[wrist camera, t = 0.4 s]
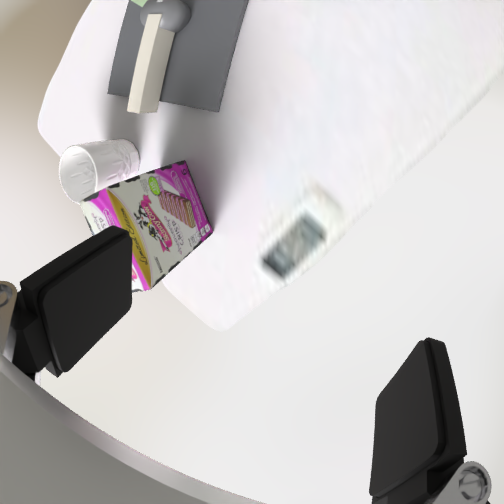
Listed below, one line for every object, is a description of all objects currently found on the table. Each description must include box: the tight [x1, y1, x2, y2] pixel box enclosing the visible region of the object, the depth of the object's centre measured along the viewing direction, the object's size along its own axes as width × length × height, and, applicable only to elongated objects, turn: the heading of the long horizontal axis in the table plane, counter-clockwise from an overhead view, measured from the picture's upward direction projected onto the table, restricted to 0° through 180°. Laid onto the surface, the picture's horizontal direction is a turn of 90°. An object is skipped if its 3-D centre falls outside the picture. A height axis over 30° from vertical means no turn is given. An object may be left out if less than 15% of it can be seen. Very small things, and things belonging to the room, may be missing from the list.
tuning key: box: [127, 0, 191, 114], centre depth 30 cm, size 22×5×4 cm, turn 166°
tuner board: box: [107, 0, 249, 112], centre depth 32 cm, size 20×18×1 cm
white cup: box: [59, 139, 140, 204], centre depth 39 cm, size 8×8×10 cm
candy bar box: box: [79, 161, 213, 292], centre depth 36 cm, size 11×5×16 cm, turn 21°
